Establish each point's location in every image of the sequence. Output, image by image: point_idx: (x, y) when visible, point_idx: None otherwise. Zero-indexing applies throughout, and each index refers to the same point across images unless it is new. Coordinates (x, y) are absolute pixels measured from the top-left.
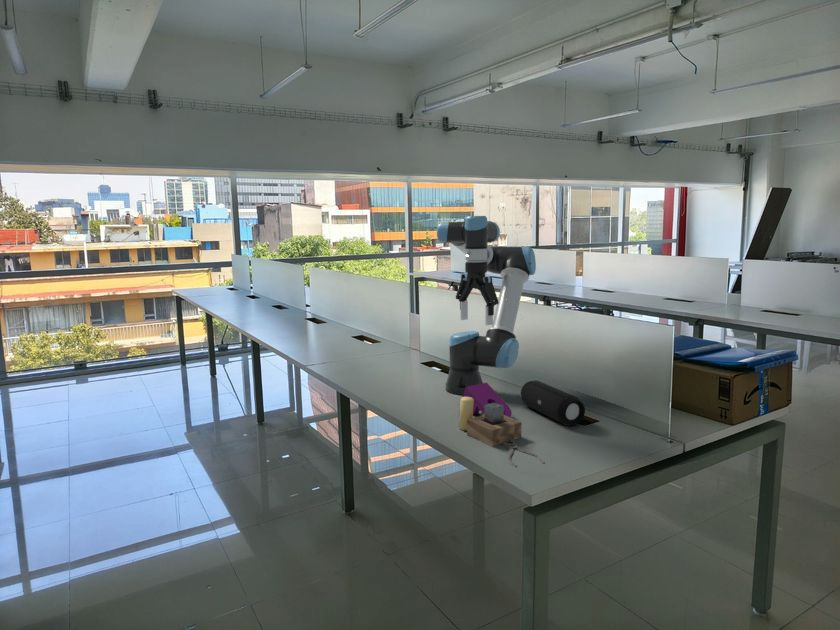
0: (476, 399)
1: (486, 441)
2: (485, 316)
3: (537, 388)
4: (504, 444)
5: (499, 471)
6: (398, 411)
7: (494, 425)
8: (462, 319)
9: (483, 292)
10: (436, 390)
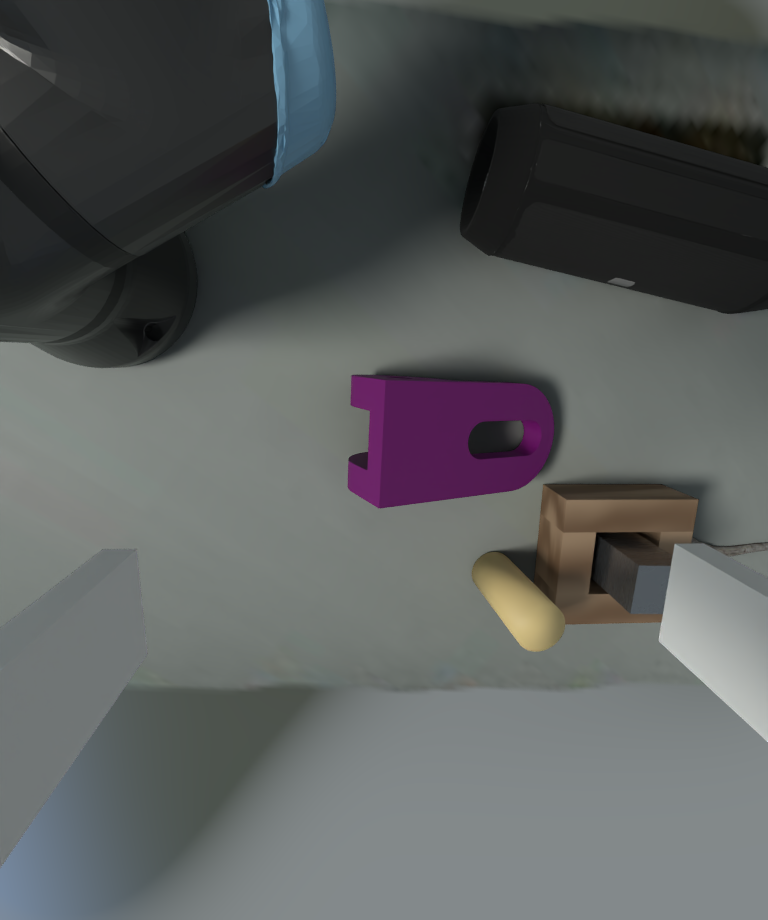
0: (451, 498)
1: None
2: (758, 731)
3: (602, 229)
4: None
5: None
6: (216, 652)
7: None
8: (141, 647)
9: None
10: (49, 392)
